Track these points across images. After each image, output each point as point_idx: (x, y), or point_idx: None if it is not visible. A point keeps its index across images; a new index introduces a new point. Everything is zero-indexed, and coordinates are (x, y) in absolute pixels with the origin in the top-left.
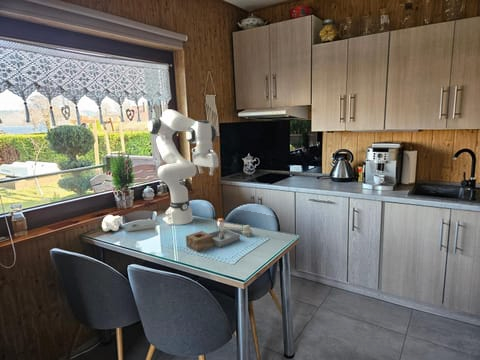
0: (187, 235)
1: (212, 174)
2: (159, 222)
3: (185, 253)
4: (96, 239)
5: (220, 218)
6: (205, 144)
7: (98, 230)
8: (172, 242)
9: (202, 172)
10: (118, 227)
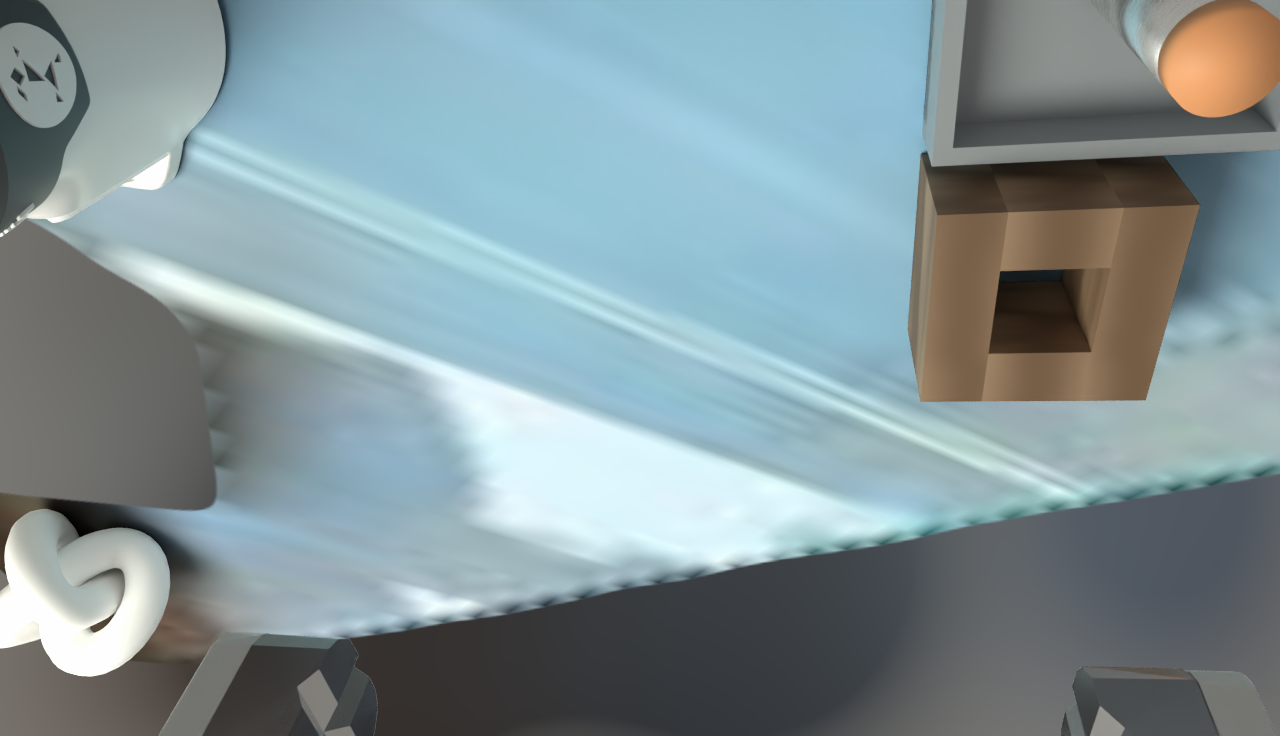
0: (925, 386)
1: (1239, 711)
2: None
3: None
4: None
5: (1196, 42)
6: None
7: None
8: (706, 366)
9: (336, 692)
10: (117, 537)
